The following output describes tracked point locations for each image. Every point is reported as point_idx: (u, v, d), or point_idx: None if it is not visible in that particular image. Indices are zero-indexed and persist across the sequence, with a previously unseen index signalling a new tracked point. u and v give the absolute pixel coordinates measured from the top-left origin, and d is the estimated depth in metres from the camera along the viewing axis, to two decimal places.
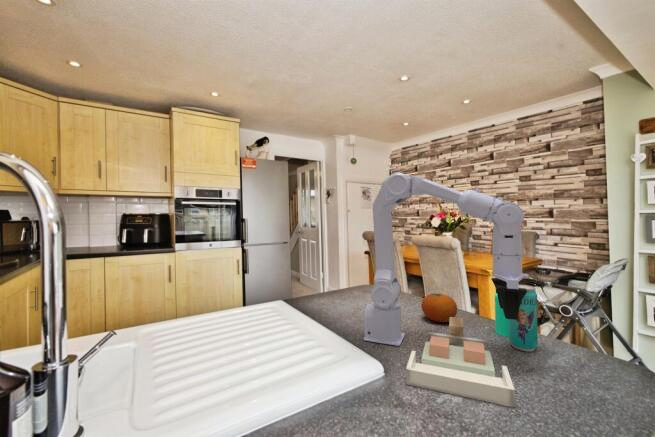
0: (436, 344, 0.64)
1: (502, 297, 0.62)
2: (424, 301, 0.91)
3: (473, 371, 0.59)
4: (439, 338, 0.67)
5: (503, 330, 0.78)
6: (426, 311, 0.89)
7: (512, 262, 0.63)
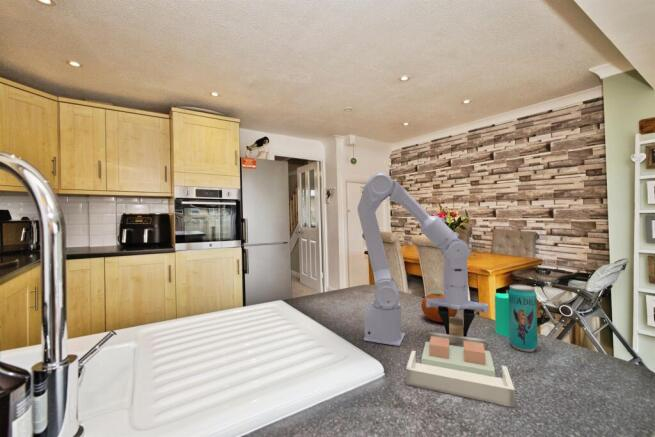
0: (436, 344, 0.64)
1: None
2: (424, 301, 0.91)
3: (473, 371, 0.59)
4: (439, 338, 0.67)
5: (504, 330, 0.78)
6: (426, 311, 0.89)
7: (444, 289, 0.75)
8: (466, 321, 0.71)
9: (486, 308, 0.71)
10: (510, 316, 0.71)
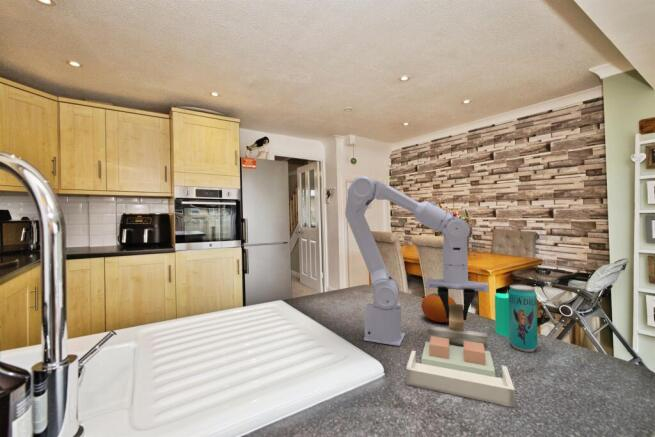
0: (436, 344, 0.64)
1: None
2: (424, 301, 0.91)
3: (473, 371, 0.59)
4: (439, 338, 0.67)
5: (504, 330, 0.78)
6: (426, 311, 0.89)
7: (443, 269, 0.74)
8: (466, 301, 0.70)
9: (486, 287, 0.69)
10: (510, 316, 0.71)
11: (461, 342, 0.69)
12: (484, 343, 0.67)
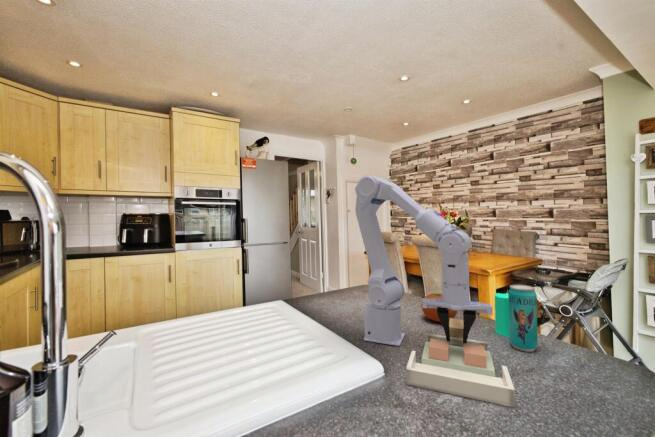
0: (435, 347, 0.63)
1: None
2: None
3: (473, 371, 0.59)
4: (439, 340, 0.66)
5: (504, 330, 0.78)
6: (426, 311, 0.89)
7: (442, 288, 0.67)
8: (466, 324, 0.64)
9: (490, 309, 0.63)
10: (510, 316, 0.71)
11: None
12: None
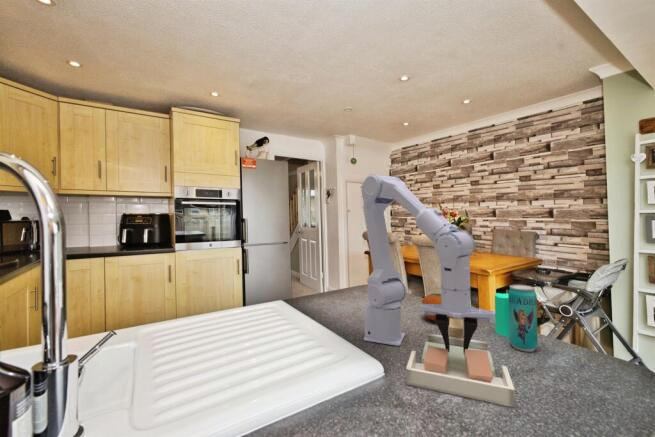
0: (431, 361, 0.59)
1: None
2: (424, 301, 0.91)
3: None
4: (437, 349, 0.61)
5: (504, 330, 0.78)
6: None
7: (441, 294, 0.62)
8: (467, 332, 0.59)
9: (493, 317, 0.58)
10: (510, 316, 0.71)
11: None
12: None
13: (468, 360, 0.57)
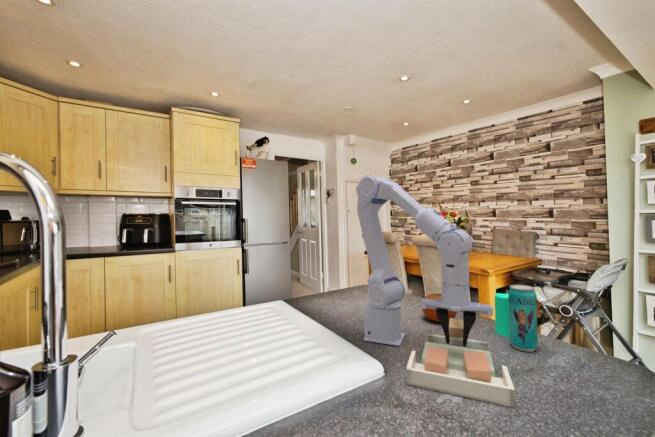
0: (431, 361, 0.59)
1: None
2: None
3: None
4: (437, 349, 0.62)
5: (504, 330, 0.78)
6: (426, 311, 0.89)
7: (442, 289, 0.66)
8: (466, 325, 0.62)
9: (490, 310, 0.61)
10: (510, 316, 0.71)
11: None
12: None
13: (466, 359, 0.58)
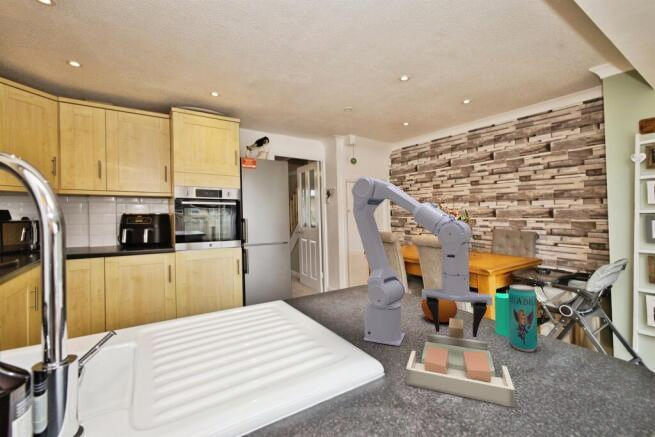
0: (431, 361, 0.59)
1: None
2: (424, 301, 0.91)
3: None
4: (437, 349, 0.62)
5: (504, 330, 0.78)
6: (426, 311, 0.89)
7: (442, 279, 0.66)
8: (477, 315, 0.62)
9: (490, 300, 0.62)
10: (510, 316, 0.71)
11: None
12: None
13: (466, 359, 0.58)
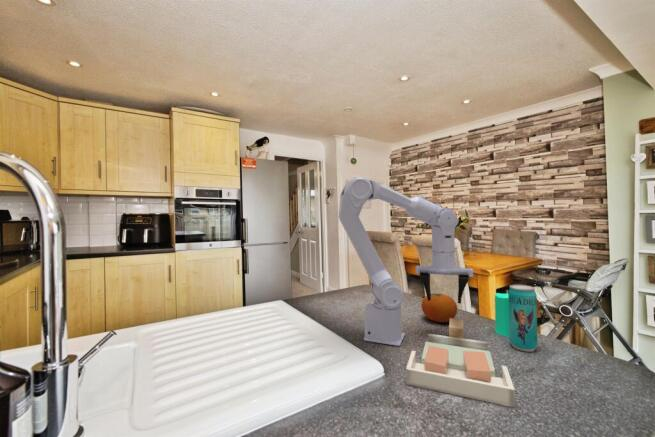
0: (431, 361, 0.59)
1: None
2: (424, 301, 0.91)
3: None
4: (437, 349, 0.62)
5: (504, 330, 0.78)
6: (426, 311, 0.89)
7: (432, 256, 0.80)
8: (460, 285, 0.76)
9: (471, 272, 0.75)
10: (510, 316, 0.71)
11: None
12: None
13: (466, 359, 0.58)
